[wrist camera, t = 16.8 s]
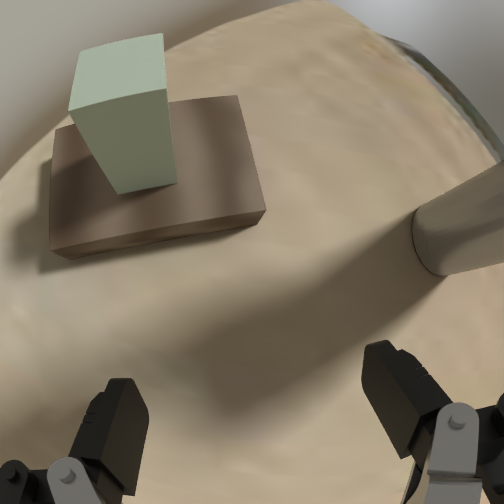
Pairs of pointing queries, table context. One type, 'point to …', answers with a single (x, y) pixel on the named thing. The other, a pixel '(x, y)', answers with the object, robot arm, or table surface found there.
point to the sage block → (126, 112)
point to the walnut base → (162, 197)
